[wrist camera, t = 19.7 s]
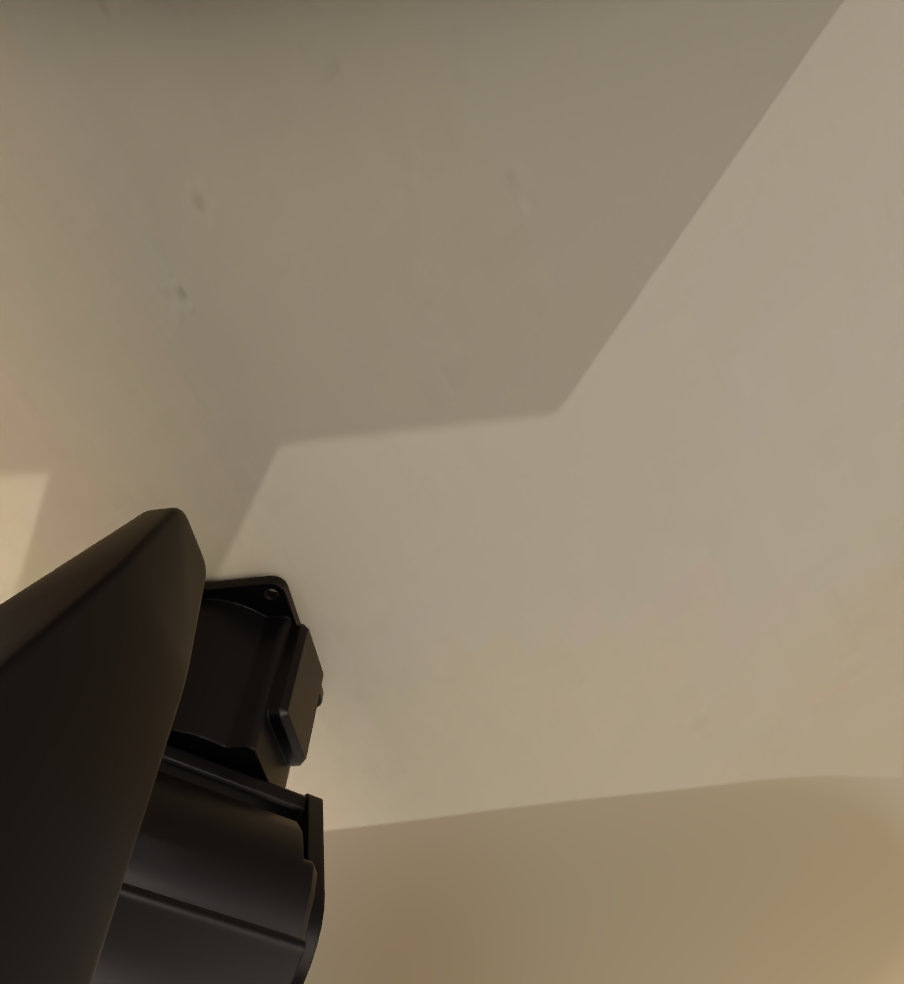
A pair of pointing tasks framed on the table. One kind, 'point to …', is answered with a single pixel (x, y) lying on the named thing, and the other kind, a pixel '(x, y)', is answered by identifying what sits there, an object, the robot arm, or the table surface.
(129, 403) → the table surface
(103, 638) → the robot arm
